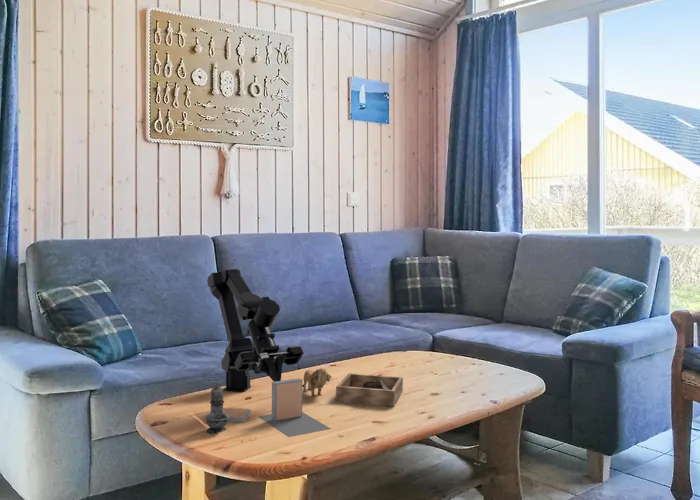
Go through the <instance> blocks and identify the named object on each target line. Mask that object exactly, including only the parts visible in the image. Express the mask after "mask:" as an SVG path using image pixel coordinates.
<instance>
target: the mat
mask: <svg viewBox="0 0 700 500" xmlns="http://www.w3.org/2000/svg"><path fill="white" fill-rule="evenodd" d="M258 418H260V419H261V420H262V421H264V422H266V423H267V424H269V425H270V426H272V427H273V428H275V429H277V431H279V432H281V433H282V434H283V435H285V436H286V437H288V438H291V437H296V436H301V435H307V434H310V433H312V434H313V433H317V432H323V431H326V430H327V431H328V430H331V429H332V428H331V427H329V426H328V425H326V424H324V423H322V422H321V421H319V420H317V419H315V418H314V417H313V416H310V415H308V414H307V413H305V412H303V411H302V417H298V418H292V419H286V420H281V421H273V420H272V413H271V414H265V415H259V416H258Z"/></svg>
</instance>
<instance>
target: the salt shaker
mask: <svg viewBox="0 0 700 500" xmlns="http://www.w3.org/2000/svg"><path fill="white" fill-rule="evenodd" d="M209 404H210V412H209V414H207V415H206V416H205V417H204V419H205V420H206V424H207V426H208V428H207V429H206V433H207V434H208V433H209V435H214V434H217V435H219V433H222V432H225V431H227V428H226V427H225V426H226V425H227V424H228V422H227V421H228V418H229V416H228V415H227V414H224V411H223V408H224V404H225V400H224V388H222V387H220V386H219V383H216V384H215V386H214V387H212V388H211V391H210V401H209Z"/></svg>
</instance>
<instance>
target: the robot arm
mask: <svg viewBox="0 0 700 500" xmlns="http://www.w3.org/2000/svg"><path fill="white" fill-rule="evenodd" d="M206 281H207V286H208V287H209V290H210V292H211V295H212V296H214V298H215V299H217V300H218V304H219V308H220V312H221V317H222V320H223V325H224V329H225V333H226V337H227V344H226V347H225V350H224V356H223V358H222V360H221V364H220V365H221V369H222V370H223V371H225V387H224V388H223V391H226V392H228V391H230V392H239V393H240V392H242V393H243V392H245V391H247V390H248V389H250V388H251V386H252V385H251V373H250V371H253V373H254V374H255V375H259V374H264V373H265V374H266V375H267V376H268V377H269V378H270V379H271V380H272V382H276V381H282V371H283V369H282V368H283V365H284V364H285V365H286V366H292V365H297V364H299V362H300V360H301V358H302V357H303V355H304V353H305V351H304V350H303V347H302V346H299V345H294V346H287V348H286V349H285V351H283V352H282V351H281V352H279V350H280V346H279V344H278V345H277V344H276V342H275V337H276V334H275V333H272V331H271V328H270V327H271V326H273V324H274V323H275V320H276V319H277V317H278V315H279V313H280V311H281V307H280V305H279V304H278V303H277V302H276V301H275V300H272V299H270V296H262V297H261V296H259V295H257V294H255V293H252V291H251V289H250V288H249V286H248V285H247V282H246V281H245V280H244V278H243V276H242V275H241V270H240V269H238V268H226V269H224V270H221V271H218V272H211V273H210V275H209V276H208V277H207V280H206ZM235 299H236V302H235ZM236 303H237V304H238V305H236ZM240 319H241V320H242V321H249V322H248V324H247V328H246V334H249V335H250V337H245V335H244V333H243V329H242V325H241V322H240V321H241V320H240ZM252 343H253V344H252Z"/></svg>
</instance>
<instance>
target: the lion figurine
mask: <svg viewBox="0 0 700 500" xmlns="http://www.w3.org/2000/svg"><path fill="white" fill-rule="evenodd" d="M332 377H333V376H332V375H331V374H330V373H328V372H327V369H326V368H319V369H316V370H314V371H313V370H311V369H308V370H305V372H304V374H303V383H302V393H306V392H307V390H310V392H311V393H310V394H311V396H310V397H311V398H315V397H316V395H317V396H323V394H321V392H322V389H323V388H324V386H325V385H326V384H327V382H330V381H331V379H332ZM316 389H317V394H315V390H316Z"/></svg>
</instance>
